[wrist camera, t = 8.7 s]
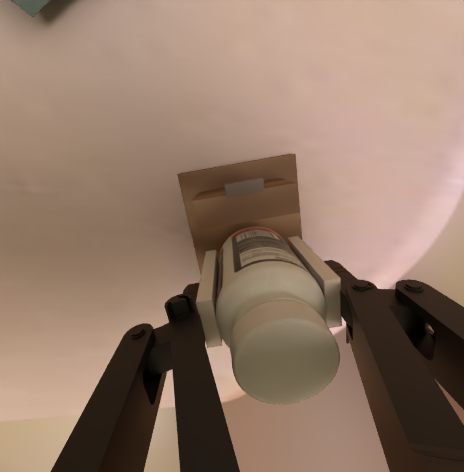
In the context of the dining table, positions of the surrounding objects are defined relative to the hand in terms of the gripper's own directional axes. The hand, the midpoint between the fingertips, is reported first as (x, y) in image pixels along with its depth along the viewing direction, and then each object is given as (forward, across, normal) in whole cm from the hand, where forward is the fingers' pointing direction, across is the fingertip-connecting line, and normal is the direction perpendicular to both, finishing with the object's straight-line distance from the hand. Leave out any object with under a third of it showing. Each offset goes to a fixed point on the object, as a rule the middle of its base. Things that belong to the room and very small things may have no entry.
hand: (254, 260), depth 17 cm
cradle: (+5, 0, 0) cm, 5 cm away
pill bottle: (0, 0, 0) cm, 0 cm away
